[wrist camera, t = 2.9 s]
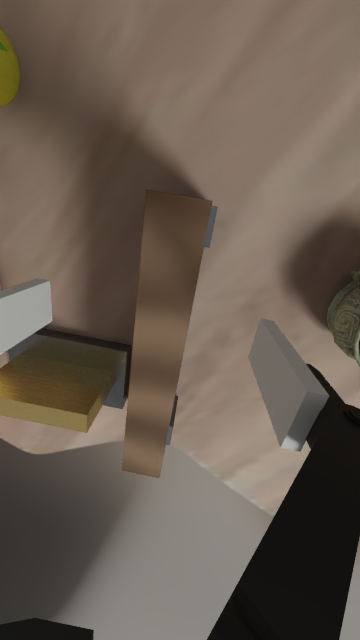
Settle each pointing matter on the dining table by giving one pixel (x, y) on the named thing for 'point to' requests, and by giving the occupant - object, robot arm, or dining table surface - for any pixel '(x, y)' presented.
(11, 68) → the lemon
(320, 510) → the robot arm
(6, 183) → the dining table surface
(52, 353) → the yellow block on tray
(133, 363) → the beam
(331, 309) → the vessel
